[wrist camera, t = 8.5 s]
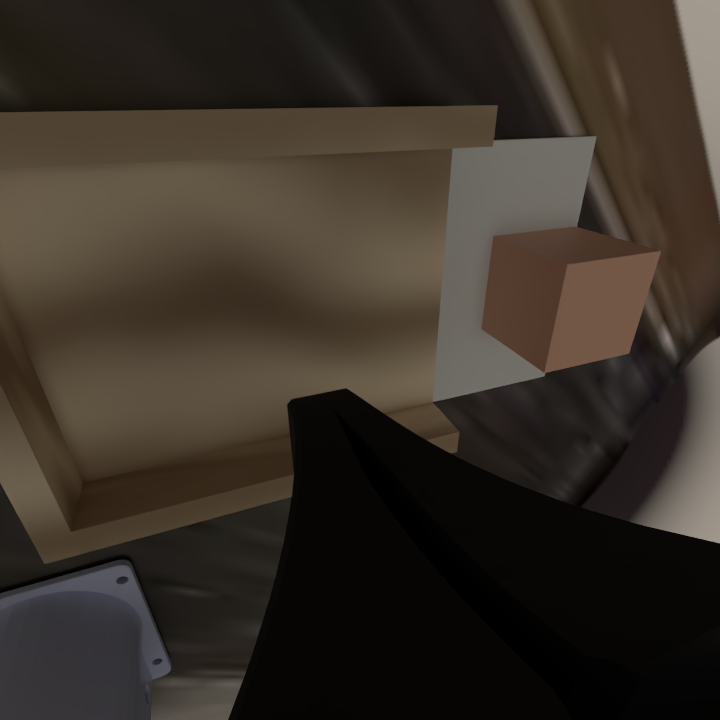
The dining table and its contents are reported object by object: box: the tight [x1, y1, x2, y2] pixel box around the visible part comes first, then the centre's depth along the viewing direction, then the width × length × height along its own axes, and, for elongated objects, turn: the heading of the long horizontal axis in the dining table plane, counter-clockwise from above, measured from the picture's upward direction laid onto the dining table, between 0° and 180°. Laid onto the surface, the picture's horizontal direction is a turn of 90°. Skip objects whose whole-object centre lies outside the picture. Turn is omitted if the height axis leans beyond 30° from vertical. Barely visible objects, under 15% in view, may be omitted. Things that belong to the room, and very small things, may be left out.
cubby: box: [0, 105, 498, 564], centre depth 17 cm, size 14×17×3 cm
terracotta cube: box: [481, 227, 661, 373], centre depth 20 cm, size 4×4×4 cm
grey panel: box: [433, 136, 597, 402], centre depth 21 cm, size 12×7×1 cm, turn 0°
